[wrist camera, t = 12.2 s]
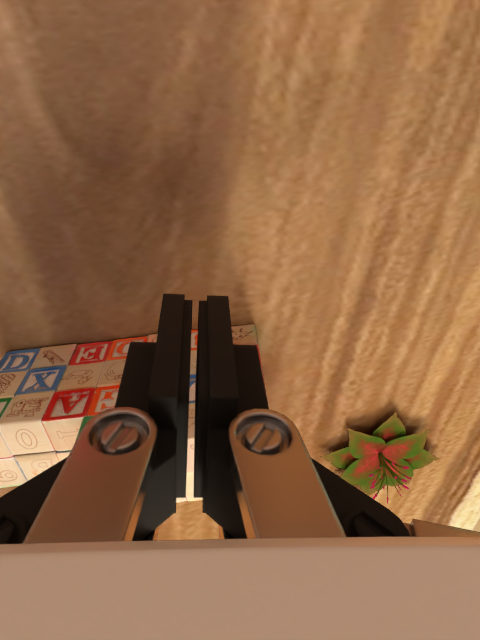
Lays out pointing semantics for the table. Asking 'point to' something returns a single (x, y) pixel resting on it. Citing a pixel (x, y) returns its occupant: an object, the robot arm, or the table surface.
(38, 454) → the stack of blocks
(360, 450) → the lily flower
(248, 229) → the table surface
